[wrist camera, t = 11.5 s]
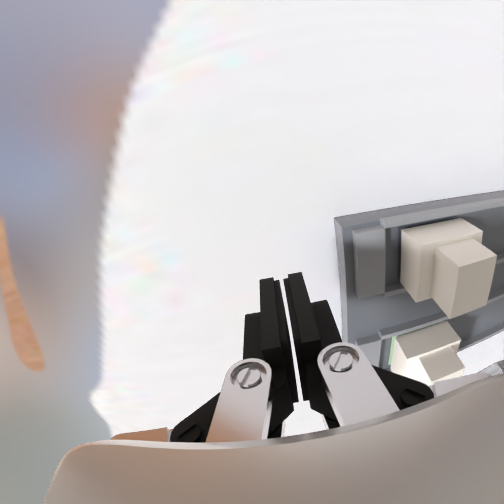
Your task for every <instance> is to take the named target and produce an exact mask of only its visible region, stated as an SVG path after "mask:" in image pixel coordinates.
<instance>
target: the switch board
mask: <svg viewBox="0 0 504 504" xmlns="http://www.w3.org/2000/svg"><path fill="white" fill-rule="evenodd" d="M457 218H462V219H464V220H465V221H467V222H469V223H470V224H472V225H474V226H475V227H477V228H479V229H480V230H482V231H483V235H482V245H484V246H485V247H486V248H488V249H489V250H491V251H492V252H493V253H495V254H496V255H497V258H496V264H495V269H494V274H493V279H492V284H491V288H490V292H489V296H488V300H487V304H486V305H485V306H483V307H480V308H478V309H476V310H473V311H470V312H468V313H465V314H463V315H460V316H457V317H455V318H452V319H449V318H448V317H447V315H446V314H445V313H444V312H443V311H442V309H441V308H440V307H439V306H438V304H437V303H436V302H435V301H434V300H433V298H430V299H427V300H424V301H420V302H417V303H416V302H415V301H414V299H413V298H412V297H411V295H410V294H409V293H408V292H407V290H406V289H405V288H404V286H403V285H402V284H401V283H400V274H401V229H407V228H412V227H417V226H422V225H427V224H432V223H437V222H442V221H447V220H452V219H457ZM334 223H335V232H336V242H337V253H338V264H339V277H340V293H341V312H342V342H347V343H351V344H354V345H356V346H358V347H359V348H360V349H361V350H362V351H363V353H364V354H365V356H366V357H367V359H368V361H369V362H370V364H371V365H374V366H376V367H379V368H382V369H385V370H387V371H390V372H392V371H391V369H390V367H391V361H392V355H393V348H394V341H395V337H397V336H401V335H404V334H408V333H411V332H414V331H417V330H420V329H424V328H427V327H430V326H433V325H436V324H439V323H441V322H444V321H447V322H448V323H449V324H450V325H451V327H452V328H453V329H454V331H455V332H456V333H457V335H458V336H459V337H460V339H461V341H460V344H459V348H458V351H457V352H459V351H461V350H464V349H466V348H468V347H470V346H473V345H475V344H477V343H479V342H481V341H483V340H485V339H488V338H490V337H492V336H494V335H496V334H498V333H500V332H502V331H503V330H504V191H497V192H490V193H483V194H476V195H469V196H463V197H456V198H449V199H443V200H437V201H430V202H424V203H418V204H412V205H406V206H399V207H393V208H388V209H382V210H376V211H370V212H364V213H358V214H353V215H347V216H341V217H336V218H334Z"/></svg>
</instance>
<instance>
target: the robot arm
mask: <svg viewBox="0 0 504 504" xmlns="http://www.w3.org/2000/svg"><path fill="white" fill-rule="evenodd" d="M283 280H284V286H285V291H286V297H287V303H288V309H289V315H290V321H291V327H292V333H293V339H294V345H295V351H296V357H297V363H298V370H299V376H300V382H301V388H302V395H303V401H306V400H309V401H310V407H311V409H313V410H315V411H317V412H319V413H321V414H322V419H323V422H324V424H325V427H326V429H327V430H323V431H318V432H313V433H307V434H301V435H294V436H287V437H284V433H285V419H286V418H287V417H288V416H289V415H290V414H291V413H292V412H293V411H294V407H293V403H295V402H299V400H298V392H297V385H296V378H295V370H294V363H293V356H292V349H291V342H290V336H289V330H288V324H287V319H286V314H285V308H284V303H283V298H282V292H281V287H280V282H279V280H276V281H274V279H273V277H272V278H267V279H261V280H260V312H258V313H252V314H246V315H245V327H244V348H243V360H241V361H239V362H237V363H235V364H234V365H232V366H231V367H230V369H229V370H228V371H227V373H226V376H225V379H224V383H223V386H222V389H221V392H219V393H218V394H217V395H216V396H214V397H213V398H212V399H211V400H209V401H208V402H207V403H205V404H204V405H203V406H201V407H200V408H199V409H197V410H196V411H195V412H193V413H192V414H191V415H189V416H188V417H187V418H185V419H184V420H183V421H181V422H180V423H179V424H178V425H176V426H175V427H174V429H171V430H169V429H168V428H167V427H166V428H160V429H153V430H147V431H139V432H131V433H122V434H118V435H115V436H114V437H112V438H111V439H110V440H103V441H95V442H90V443H85V444H82V445H80V446H77V447H74V448H72V449H71V450H69V451H68V452H67V453H66V454H65V455H64V457H63V458H62V460H61V461H60V463H59V465H58V467H57V469H56V471H55V473H54V475H53V477H52V479H51V482H50V484H49V487H48V490H47V493H46V496H45V499H44V502H43V504H504V373H501V374H496V375H493V376H492V375H491V374H488V373H485V372H482V373H476V374H471V375H467V376H462V377H457V378H452V379H447V380H442V381H436V382H434V383H433V385H430V386H428V385H426V384H424V383H422V382H420V381H417V380H414V379H411V378H408V377H405V376H402V375H399V374H396V373H393V372H390V371H387V370H385V369H382V368H379V367H376V366H374V365H371V364H370V362H369V361H368V359H367V357H366V356H365V354H364V353H363V351H362V350H361V349H360V348H359V347H358V346H356V345H354V344H351V343H347V342H342V340H341V337H340V334H339V331H338V328H337V326H336V323H335V320H334V317H333V315H332V312H331V309H330V307H329V304H328V302H327V300H323V301H318V302H313V303H310V299H309V296H308V292H307V289H306V286H305V282H304V279H303V276H302V272H299V273H293V274H288V278H286V279H283Z"/></svg>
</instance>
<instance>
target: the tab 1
mask: <svg viewBox="0 0 504 504" xmlns="http://www.w3.org/2000/svg"><path fill="white" fill-rule="evenodd" d="M482 235H483V231H482V230H480V229H479V228H477V227H475V226H474V225H472V224H470V223H469V222H467V221H465V220H464V219H462V218H457V219H452V220H447V221H442V222H437V223H432V224H427V225H422V226H417V227H412V228H407V229H401V274H400V283H401V284H402V285H403V286H404V288H405V289H406V290H407V292H408V293H409V294H410V295H411V297H412V298H413V299H414V301H415V302H416V303H417V302H420V301H424V300H427V299H430V298H433V300H434V301H435V302H436V303H437V304H438V306H439V307H440V308H441V309H442V311H443V312H444V313H445V314H446V315H447V317H448V318H449V319H452V318H455V317H457V316H460V315H463V314H465V313H468V312H470V311H473V310H476V309H478V308H480V307H483V306H485V305H486V304H487V300H488V296H489V292H490V288H491V284H492V279H493V274H494V269H495V264H496V258H497V255H496V254H495V253H493V252H492V251H491V250H489V249H488V248H486V247H485V246H484V245H482Z"/></svg>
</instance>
